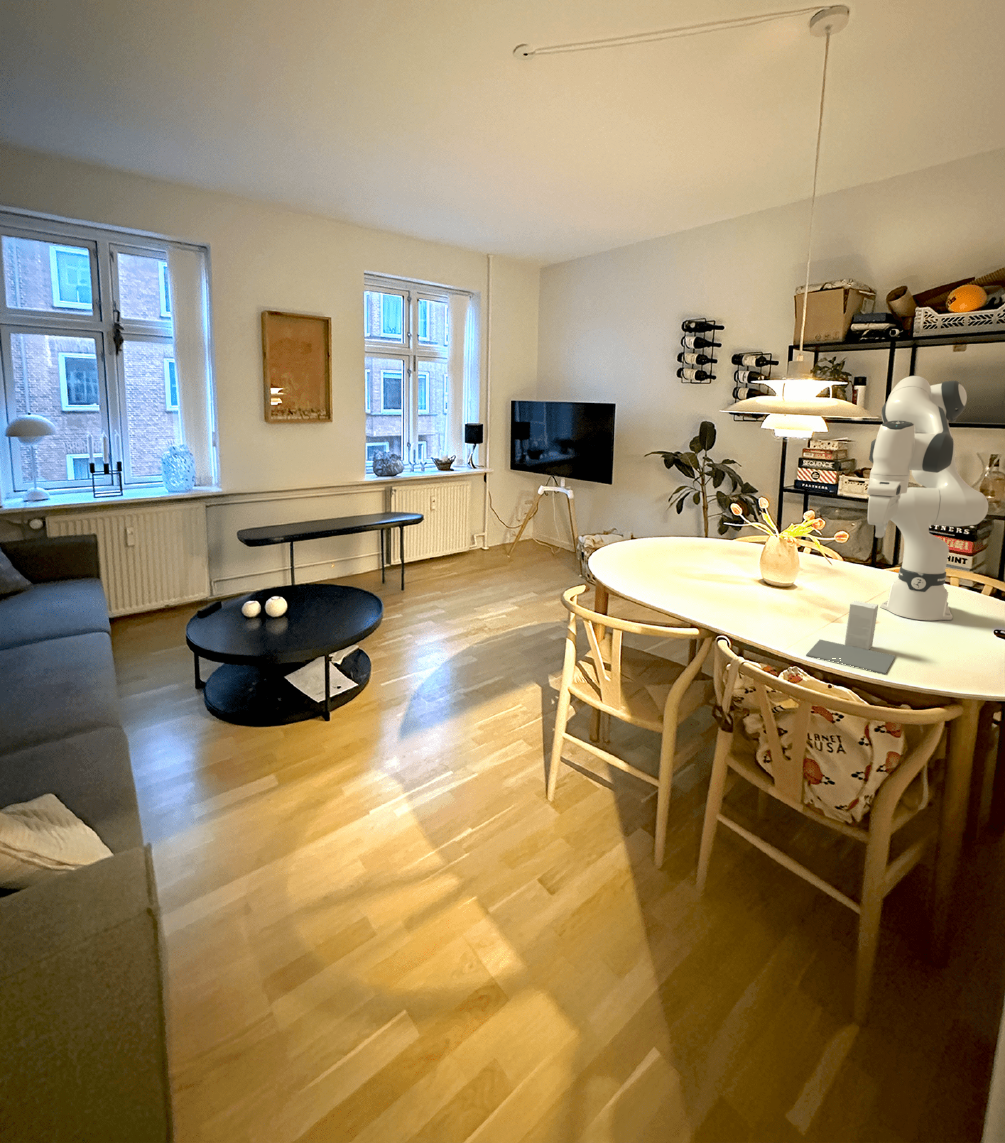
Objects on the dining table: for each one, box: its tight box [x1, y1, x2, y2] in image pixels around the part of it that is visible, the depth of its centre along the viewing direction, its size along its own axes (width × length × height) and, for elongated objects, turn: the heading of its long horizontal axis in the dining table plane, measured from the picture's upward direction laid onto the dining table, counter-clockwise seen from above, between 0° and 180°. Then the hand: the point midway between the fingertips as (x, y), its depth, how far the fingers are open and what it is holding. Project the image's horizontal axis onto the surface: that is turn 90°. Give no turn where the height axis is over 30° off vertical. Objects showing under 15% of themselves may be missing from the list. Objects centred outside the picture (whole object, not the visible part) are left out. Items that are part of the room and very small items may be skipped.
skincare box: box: [844, 600, 879, 650], centre depth 166 cm, size 6×4×12 cm
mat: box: [805, 639, 896, 675], centre depth 161 cm, size 14×18×1 cm
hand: (879, 536), depth 165 cm, fingers closed
